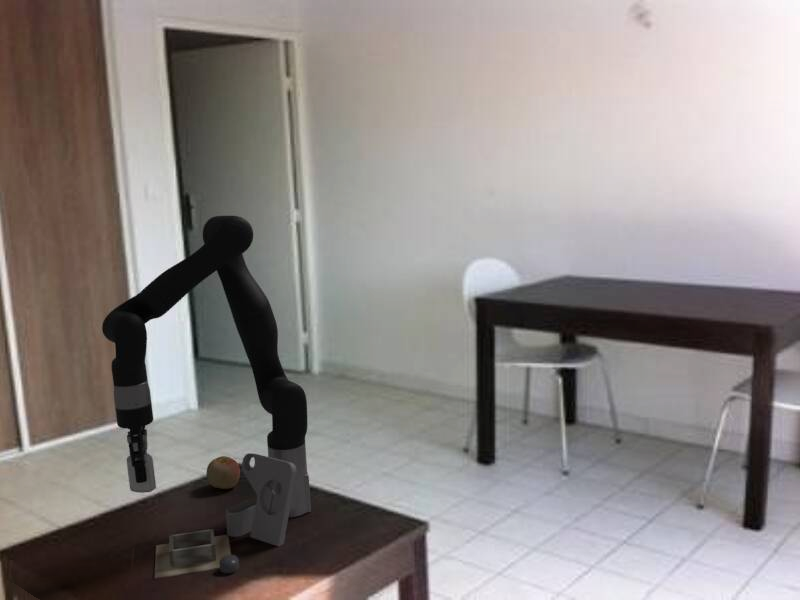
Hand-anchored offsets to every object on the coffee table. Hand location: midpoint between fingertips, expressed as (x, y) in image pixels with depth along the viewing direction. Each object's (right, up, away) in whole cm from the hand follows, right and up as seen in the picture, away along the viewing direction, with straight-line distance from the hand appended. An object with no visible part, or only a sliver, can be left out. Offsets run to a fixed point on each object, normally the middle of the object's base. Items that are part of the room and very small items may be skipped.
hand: (142, 477), depth 182 cm
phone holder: (+25, -16, +10) cm, 32 cm away
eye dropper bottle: (0, -3, +1) cm, 3 cm away
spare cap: (+20, -18, -6) cm, 28 cm away
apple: (+9, -12, +42) cm, 45 cm away
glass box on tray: (+11, -18, +1) cm, 21 cm away
